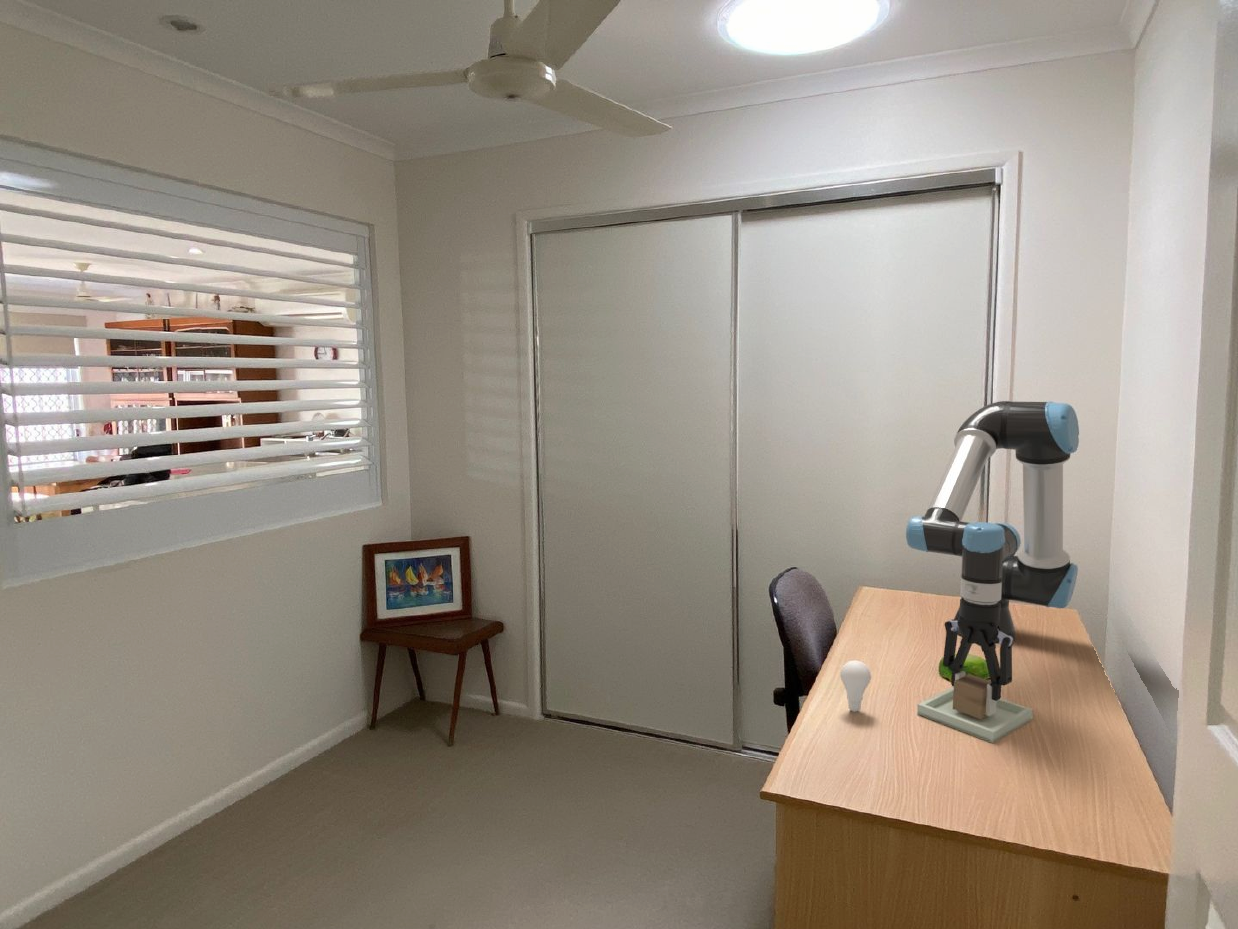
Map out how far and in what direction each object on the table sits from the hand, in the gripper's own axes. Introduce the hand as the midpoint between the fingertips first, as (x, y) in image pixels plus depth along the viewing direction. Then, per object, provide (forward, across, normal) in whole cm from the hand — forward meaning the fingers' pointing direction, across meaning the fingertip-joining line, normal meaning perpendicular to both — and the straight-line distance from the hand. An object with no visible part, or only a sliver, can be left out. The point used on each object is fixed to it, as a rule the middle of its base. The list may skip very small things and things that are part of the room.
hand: (974, 707), depth 161 cm
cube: (0, 0, 0) cm, 0 cm away
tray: (+2, 0, 0) cm, 2 cm away
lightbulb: (+2, -17, -17) cm, 24 cm away
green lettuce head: (+2, -12, +19) cm, 23 cm away
